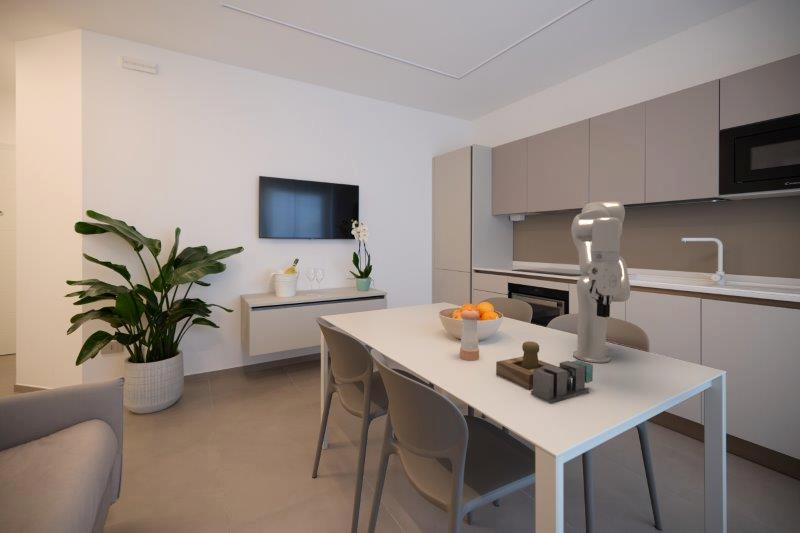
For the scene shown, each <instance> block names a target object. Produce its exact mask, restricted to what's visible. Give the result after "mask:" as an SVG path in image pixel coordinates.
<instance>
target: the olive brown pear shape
mask: <svg viewBox="0 0 800 533" xmlns="http://www.w3.org/2000/svg"><path fill="white" fill-rule="evenodd" d="M521 348H522V351H523V356H522V357H523V362H522V368H525V369H527V370H531V369H536V368H539V363H538V360H539V357H538V356H539V355H538V354H539V352H540V345H539V343H537V342H536V341H530V340H529V341H524V342H523V343H522V347H521Z"/></svg>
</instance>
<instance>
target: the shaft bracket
mask: <svg viewBox="0 0 800 533" xmlns="http://www.w3.org/2000/svg"><path fill="white" fill-rule="evenodd" d="M558 364H559V365H558V367H559V368H558V367H555V366H556V365H555V366H552V365H553V364H552V365H547V366H543V367H541V370H539V369H535V370H533V389H531V390H530V395H531V396H534V397H535V398H538V399H540V400H542V401H544V402H546V403H549V404H552V405H553V404H555V403H558V402H561V401H565V400H569V399H572V398H574V397H575V398H576V397H579V396H581V395H585V394H590V389H589V388H587V387H586V386H585V385H586V383H585V366H583V365H580V364H577V363H574V362H572V361H570V360H566V361H562V362H559V363H558ZM567 370H570V371H572V378H571V379H567Z"/></svg>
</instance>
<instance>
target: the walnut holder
mask: <svg viewBox="0 0 800 533" xmlns="http://www.w3.org/2000/svg"><path fill="white" fill-rule="evenodd" d="M522 362H523V356H519V357H518V356H517V357H513V358H509V359H504V360H503V359H502V360H498V361H496V365H495V366H496V368H495V371H496V372H495V375H496V376H498V377H499V378H502V379H504V380H506V381H509V382H510V383H513V384H515V385H517V386H520V387H522V388H524V389H527V390H528V391H532V390H533V370H535V369H531V370H527V369H525V368H522ZM538 363H539V368H536V369H539V370H541V367H543V366H547V365H552V366H555V367H558V368H559V365H554V364H552V363H549V362H546V361H543V360H540V359H538Z"/></svg>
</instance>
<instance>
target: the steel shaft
mask: <svg viewBox="0 0 800 533" xmlns="http://www.w3.org/2000/svg"><path fill="white" fill-rule="evenodd" d="M571 362H574V363H577V364H580V365H583V366H585V384H588V383H591V382H593V381H594V380H593V376H594V375H593V373H594V372H593V371H594V365H593V364H591V363H590V362H586V361H583V360H579V359H577V360H572V361H571ZM567 379H571V380H572V371H570V370H567Z"/></svg>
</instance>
